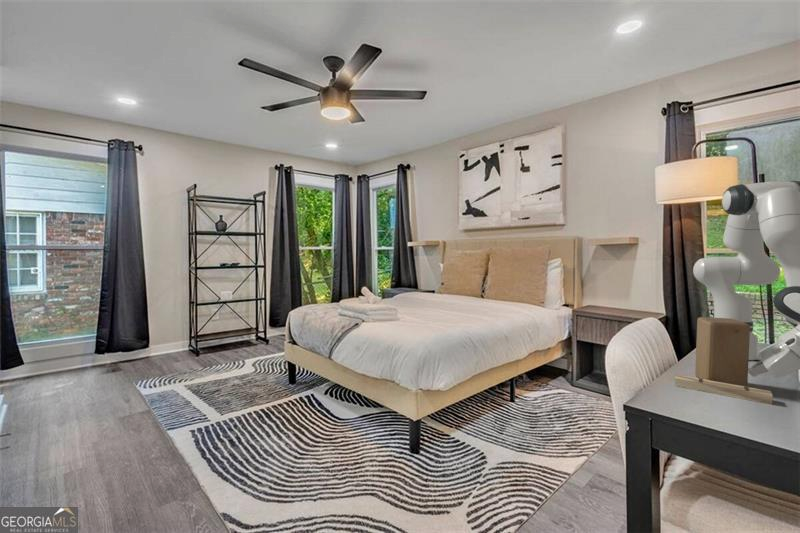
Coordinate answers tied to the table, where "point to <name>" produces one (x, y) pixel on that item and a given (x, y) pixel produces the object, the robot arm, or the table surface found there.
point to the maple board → (724, 389)
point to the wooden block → (722, 350)
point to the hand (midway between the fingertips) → (750, 373)
